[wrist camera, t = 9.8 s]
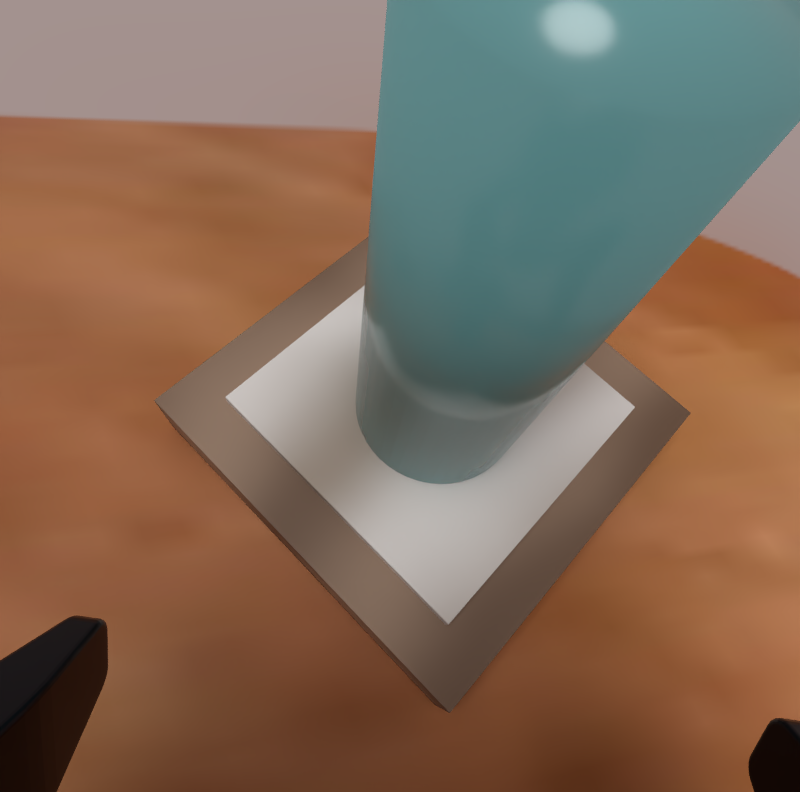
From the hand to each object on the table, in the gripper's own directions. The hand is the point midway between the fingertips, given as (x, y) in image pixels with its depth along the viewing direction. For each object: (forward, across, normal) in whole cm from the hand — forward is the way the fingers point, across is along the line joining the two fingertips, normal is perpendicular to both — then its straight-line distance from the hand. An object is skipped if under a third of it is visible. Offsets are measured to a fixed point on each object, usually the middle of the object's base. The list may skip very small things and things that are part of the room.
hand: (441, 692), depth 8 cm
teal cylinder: (+11, 0, 0) cm, 11 cm away
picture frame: (+13, 0, +2) cm, 13 cm away
